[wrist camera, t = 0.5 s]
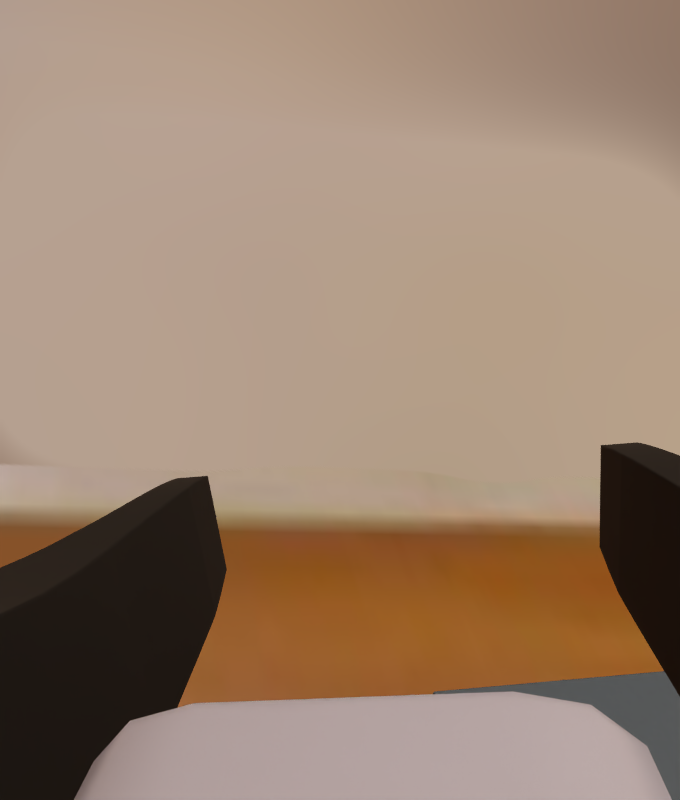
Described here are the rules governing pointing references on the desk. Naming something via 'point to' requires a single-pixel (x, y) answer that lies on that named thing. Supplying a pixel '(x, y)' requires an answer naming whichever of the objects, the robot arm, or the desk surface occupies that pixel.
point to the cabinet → (623, 711)
